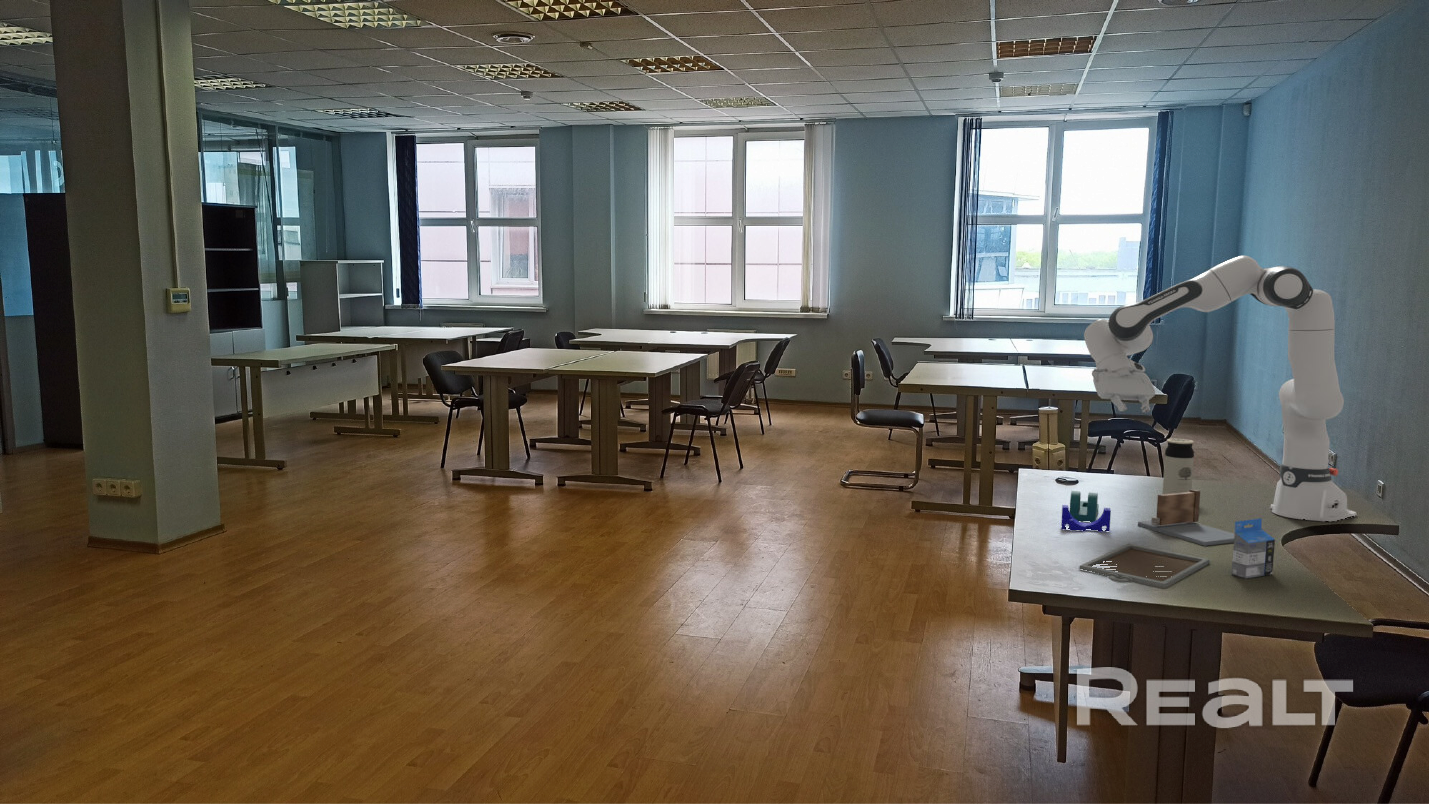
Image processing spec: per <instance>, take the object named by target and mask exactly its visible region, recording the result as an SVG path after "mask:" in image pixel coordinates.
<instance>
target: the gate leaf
mask: <svg viewBox="0 0 1429 804" xmlns="http://www.w3.org/2000/svg"><path fill="white" fill-rule="evenodd" d="M1156 502H1157V503H1156V516H1151V520H1150V521H1151V525H1152V526H1159V525H1160V526H1161V525H1170V524H1179V523H1187V522H1195V523H1198V522H1199V518H1200V517H1199V516H1200V502H1201V490H1199V489H1194V488H1192V489H1191V490H1189V492H1182V493H1172V494H1163V493H1161V494H1158V495H1157V501H1156Z"/></svg>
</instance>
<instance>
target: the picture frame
mask: <svg viewBox="0 0 1429 804" xmlns="http://www.w3.org/2000/svg"><path fill="white" fill-rule="evenodd" d="M1103 561H1105V562H1104V563H1103ZM1106 561H1112V562H1106ZM1210 561H1211V560H1210V559H1209V558H1205V557H1201V556H1195V555H1190V554H1185V553H1179V552H1174V551H1168V550H1164V549H1161V548H1160V549H1159V548H1154V547H1149V546H1143V545H1138V544H1133V543H1127V544H1125V545H1122V546H1119V547H1118V548H1115V549H1114V550H1111V551H1109V552H1107V553H1104V554H1103V555H1099V556H1097V557H1096V558H1093V559H1090V560H1089V561H1087V562H1085V563H1082V564H1081V565H1079V569H1083V570H1087V571H1092V572H1095V573H1094V574H1096V573H1099V574H1098V575H1100V574H1104V575H1103V576H1105V575H1106V577H1107V576H1109V577H1108V579H1111V580H1110V581H1113V582H1116V581H1117V582H1118V583H1130V582H1131V583H1138V584H1141V585H1147V586H1151V587H1156V588H1160V589H1166V588H1168V587H1171V586H1172V585H1174V584H1176V583H1177V582H1179V581H1181V580H1183V579H1184V578H1186V577H1188V576H1189V574H1190V575H1191V574H1193V573H1195V572H1196V571H1199V570H1200V569H1202V568H1204V567H1206V566H1207V565H1209V564H1210ZM1096 564H1108V565H1100V566H1117V567H1110V568H1104V569H1102V568H1097V567H1092V566H1093V565H1096ZM1116 564H1117V565H1116ZM1155 566H1164V567H1155ZM1106 569H1116V570H1106ZM1087 571H1086V572H1087ZM1115 571H1118V572H1115ZM1153 571H1154V572H1153ZM1155 571H1172V572H1155ZM1146 576H1147V577H1146ZM1156 576H1157V577H1156ZM1158 576H1159V577H1158ZM1160 576H1167V577H1160ZM1171 576H1172V577H1171ZM1180 579H1181V580H1180ZM1117 582H1116V583H1117Z"/></svg>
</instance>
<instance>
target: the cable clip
mask: <svg viewBox="0 0 1429 804" xmlns="http://www.w3.org/2000/svg"><path fill="white" fill-rule="evenodd" d="M1111 511H1112V509H1111V507H1104V508H1103V512H1102V513H1101V516H1099V517H1098V518H1096V521H1094V522H1091V523H1088V522H1079V521H1077V520H1076V519H1074V518H1073V517H1072V516H1071V514H1070V506H1069V505H1067V504H1062V505H1061V525H1060V526H1062V527H1061V530H1062V529H1066V527H1065V526H1069V528H1068V529H1070V530H1083V531H1086V532H1087V530H1086V529H1091V530H1098V531H1097V532H1100V531H1103V530H1102V529H1103V527H1106V528H1104V529H1106V530H1105V531H1111V516H1112V515H1111V514H1112V513H1111ZM1070 530H1069V531H1070ZM1083 531H1082V532H1083Z"/></svg>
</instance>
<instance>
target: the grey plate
mask: <svg viewBox="0 0 1429 804" xmlns="http://www.w3.org/2000/svg"><path fill="white" fill-rule="evenodd" d="M1137 526H1139V527H1141V526H1142V527H1141V528H1144V527H1145V529H1148V530H1152V531H1155V532H1159V533H1161V534H1165V535H1167V536H1171V537H1174V538H1177V539H1181V540H1184V541H1187V542H1190V543H1194V544H1198V545H1200V546H1203V547H1207V546H1215V545H1224V544H1231V543H1234V537H1235V532H1231V531H1230V532H1229V531H1226V530H1223V529H1219V528H1216V527H1212V526H1209V525H1205V524H1202V523H1198V522H1187V523H1179V524H1170V525H1161V526H1160V525H1159V526H1152V525H1151V520H1143V521H1141V520H1140V521H1137Z"/></svg>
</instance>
